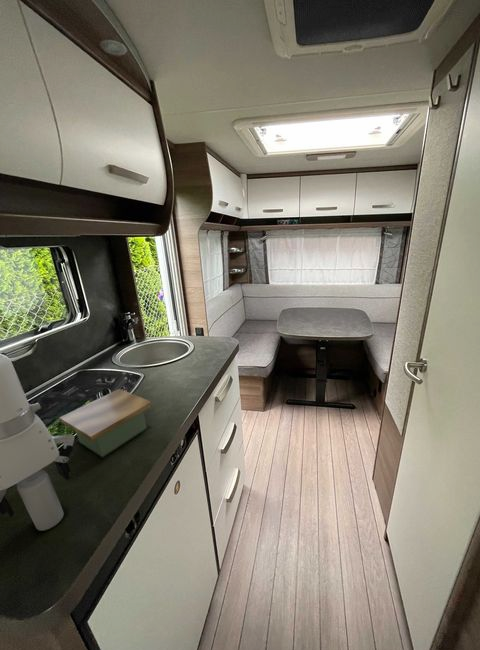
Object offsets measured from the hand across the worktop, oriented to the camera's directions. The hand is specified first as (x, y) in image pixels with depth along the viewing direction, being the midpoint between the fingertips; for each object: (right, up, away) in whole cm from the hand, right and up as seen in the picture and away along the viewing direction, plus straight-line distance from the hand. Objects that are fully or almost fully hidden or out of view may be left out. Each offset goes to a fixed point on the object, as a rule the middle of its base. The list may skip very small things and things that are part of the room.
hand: (39, 493), depth 55 cm
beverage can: (0, -8, +3) cm, 8 cm away
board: (0, +10, +25) cm, 27 cm away
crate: (0, +3, +28) cm, 28 cm away
